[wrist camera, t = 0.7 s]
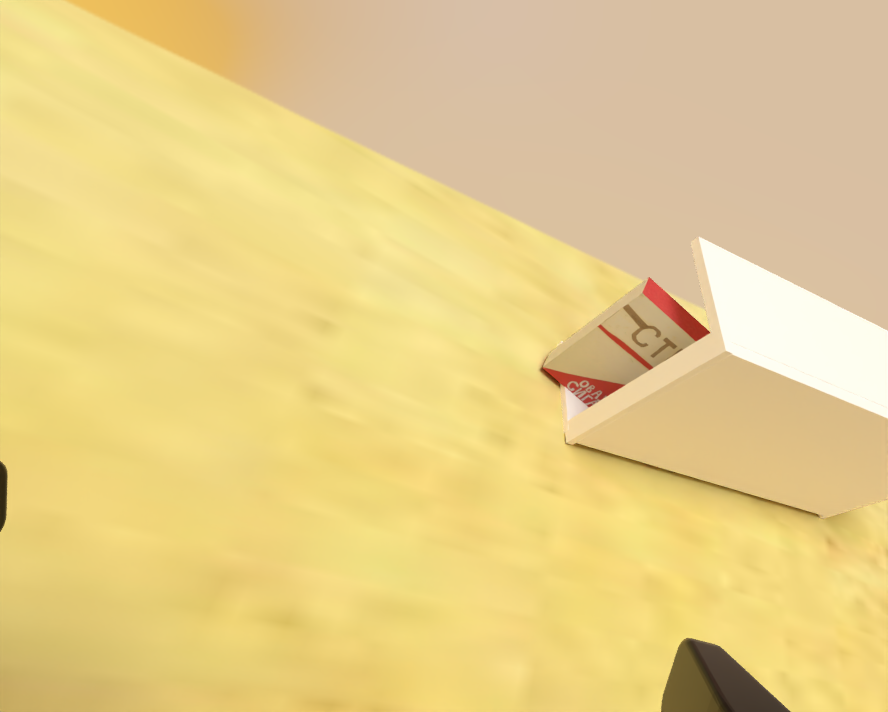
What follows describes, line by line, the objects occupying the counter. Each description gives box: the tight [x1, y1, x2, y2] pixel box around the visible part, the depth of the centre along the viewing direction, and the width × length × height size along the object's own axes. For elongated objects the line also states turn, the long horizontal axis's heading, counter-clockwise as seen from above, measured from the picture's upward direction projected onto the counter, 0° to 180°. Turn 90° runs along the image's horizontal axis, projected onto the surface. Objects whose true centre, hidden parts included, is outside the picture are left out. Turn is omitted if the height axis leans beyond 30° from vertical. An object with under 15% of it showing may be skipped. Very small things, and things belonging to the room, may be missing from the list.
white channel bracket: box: [542, 237, 888, 519], centre depth 32 cm, size 20×6×9 cm, turn 89°
